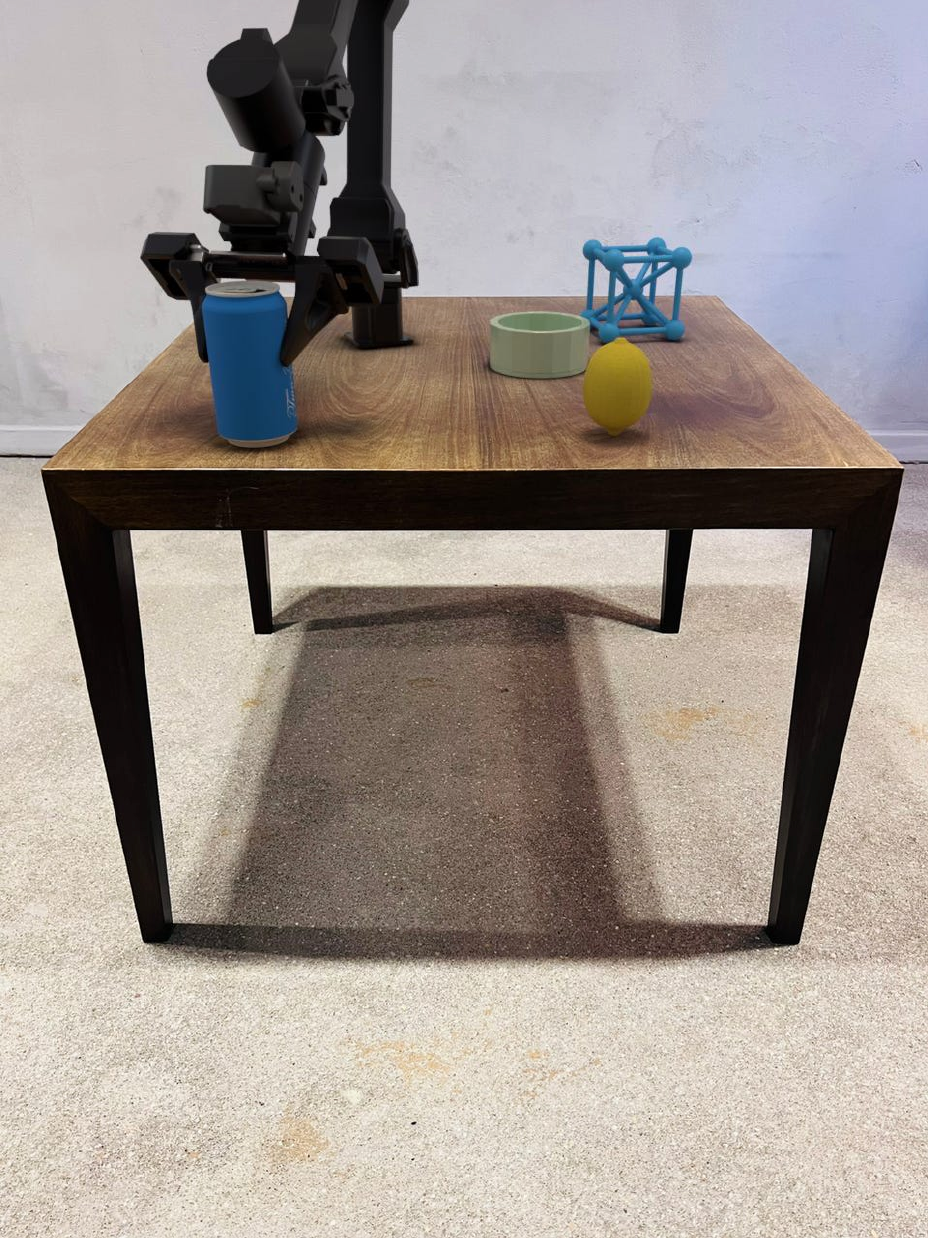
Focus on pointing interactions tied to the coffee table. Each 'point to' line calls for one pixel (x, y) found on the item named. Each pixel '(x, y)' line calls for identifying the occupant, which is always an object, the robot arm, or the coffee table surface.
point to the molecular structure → (635, 288)
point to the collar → (539, 344)
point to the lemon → (617, 386)
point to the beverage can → (249, 363)
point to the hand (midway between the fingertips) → (242, 362)
